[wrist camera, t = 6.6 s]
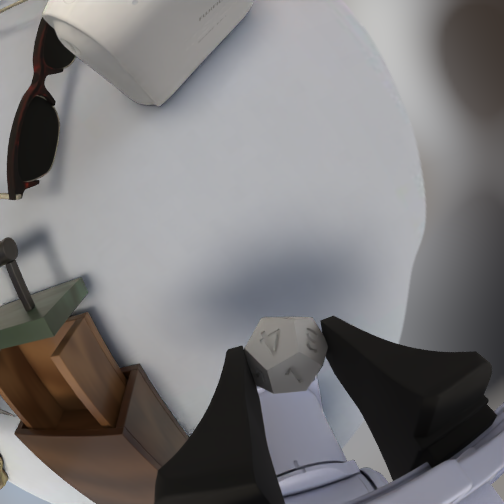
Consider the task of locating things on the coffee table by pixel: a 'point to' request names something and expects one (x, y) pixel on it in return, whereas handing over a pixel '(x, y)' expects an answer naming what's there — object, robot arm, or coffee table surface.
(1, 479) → the boat shoe
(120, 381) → the drawer
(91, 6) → the photo printer
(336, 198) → the coffee table surface
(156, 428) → the cabinet
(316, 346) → the game die
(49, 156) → the eyeglasses
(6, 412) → the machete
